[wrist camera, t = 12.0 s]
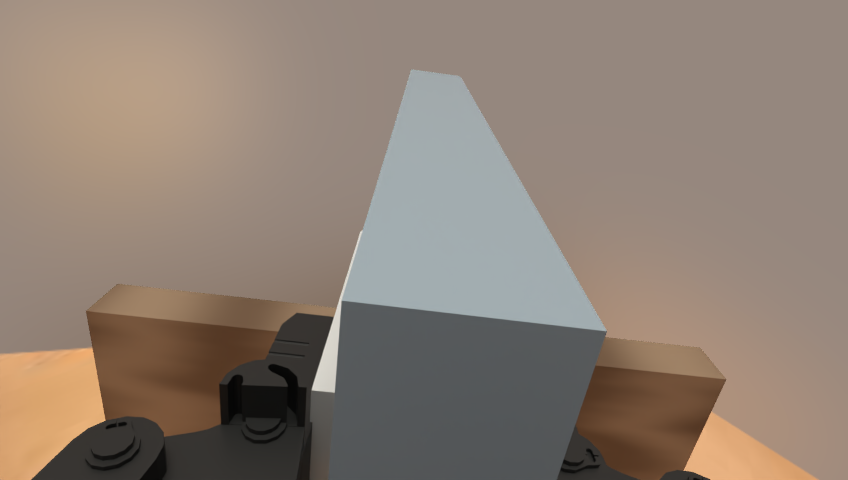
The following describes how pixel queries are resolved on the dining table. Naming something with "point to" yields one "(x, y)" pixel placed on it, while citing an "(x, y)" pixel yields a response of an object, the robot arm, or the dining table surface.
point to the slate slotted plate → (457, 312)
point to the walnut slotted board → (261, 319)
